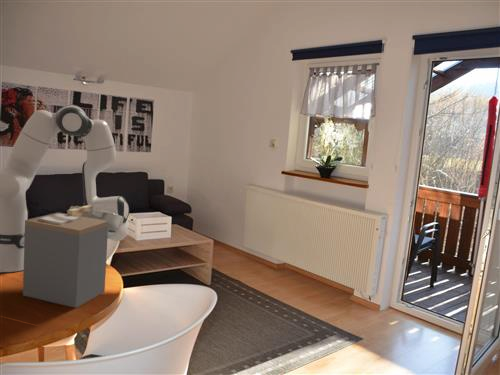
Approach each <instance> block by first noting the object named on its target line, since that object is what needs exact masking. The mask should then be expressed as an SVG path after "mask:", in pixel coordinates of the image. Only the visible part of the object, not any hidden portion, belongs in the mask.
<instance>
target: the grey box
mask: <svg viewBox="0 0 500 375" xmlns="http://www.w3.org/2000/svg"><path fill="white" fill-rule="evenodd" d="M58 213H59V214H65V215H67V213H64V212H59V211H57V212H54V213H49V214H46V215H42V216H37V217H33V218H27V220H25V237H24V270H23V277H22V278H23V279H22V280H23V281H22V283H23V284H22V296H25V297H29V298H33V299H36V300H40V301H41V300H42V301H45V302H50V303H53V304H58V305H63V306H67V307H69V308H75V309H77V308H79V307H81V306H82V305H84V304H85V303H88V302H89V301H91V300H93V299H94V298H96V297H97V296H99V295H101V294H103V293H105V290H106V272H107V271H106V270H107V254H108V253H107V252H108V240H109V239H108V221H104V220H99V219H93V218H87V217H82V216H77V217H81V219H80V220H77V221H74V222H70V223H67V224H63V225H58V224H53V223H47V222H42V221H38V218H42V217H46V216H50V215H54V214H58Z"/></svg>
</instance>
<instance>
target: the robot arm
mask: <svg viewBox="0 0 500 375" xmlns="http://www.w3.org/2000/svg"><path fill="white" fill-rule="evenodd" d="M60 132H62V133H63V134H65V135H67V136H72V137H81V138H82V139H83V142H84V145H85V149H86V159H85V160H86V161H85V162H83V164H82V166H81V167H82V168H81V171H82V172H81V174H82V175H81V176H82V177H81V178H82V180H81V181H82V192H83V206H86V205H91V206H93V209H92V208H91V209H90V213H88V214H85V215H81V216H82V217H87V218H93V219H99V220H104V221H108V239H107V240H110V241H113V242H119V241H122V240H124V239H125V238H126V237H127V236H128V233H129V229H128V228H129V227H128V226H127V220H128V218H129V216H130V206H129V202H128V201H127V200H126V199H125V197H123V196H121V195H118V196H115V195H114V196H107V197H106V196H105V197H99V196H97V184H96V182H97V181H96V178H97V176H98V174H99V173H101V172H103V171H105V170H107V169H109V168H110V167H111V166H112V165H113V164H114V163H115V161H116V158H117V148H116V145H115V141H114V140H115V139H114V137H113V134H112V131H111V129H110V126H109V124H108V122H106V120H103V119H99V118H98V119H90V118H89V117H88V116H87V114H86V112H85V111H84V109H83V108H81V107H80V106H79V105H76V104H67V105H64V106H62V107H60V108H59V109H58V110H55V111H53V112H51V111H49V110H45V109H38V110H35V111H34V112H33V113H32V115H31V116H30V117H29V119H28V120H27V121H26V123H25V124H24V126H23V127H22V129H21V131H20V132H19V135H18V137H17V139H16V140H15V143H14V144H13V146H12V148H11V151H10V155H9V158H8V160H7V161H6V164H5V166H4V168H3V170H1V171H0V273H13V272H20V271H24V237H25V220H28V217H29V216H28V213H29V212H28V207H27V200H26V199H27V198H26V197H27V196H26V193H27V190H29V188H30V186H31V185H32V183H33V181H34V179H35V176H36V174H37V173H38V172H37V171H38V169H39V168H40V165H41V163H42V161H43V160H44V157H45V155H46V153H47V152H48V149H49V148H50V145H51V144H52V142H53V140H54V138H55V137H56V135H57V134H59V133H60ZM78 207H81V206H80V205H75V206H73V205H71V206H70V207H69V209H68V210H70V209H74V208H78Z"/></svg>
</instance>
